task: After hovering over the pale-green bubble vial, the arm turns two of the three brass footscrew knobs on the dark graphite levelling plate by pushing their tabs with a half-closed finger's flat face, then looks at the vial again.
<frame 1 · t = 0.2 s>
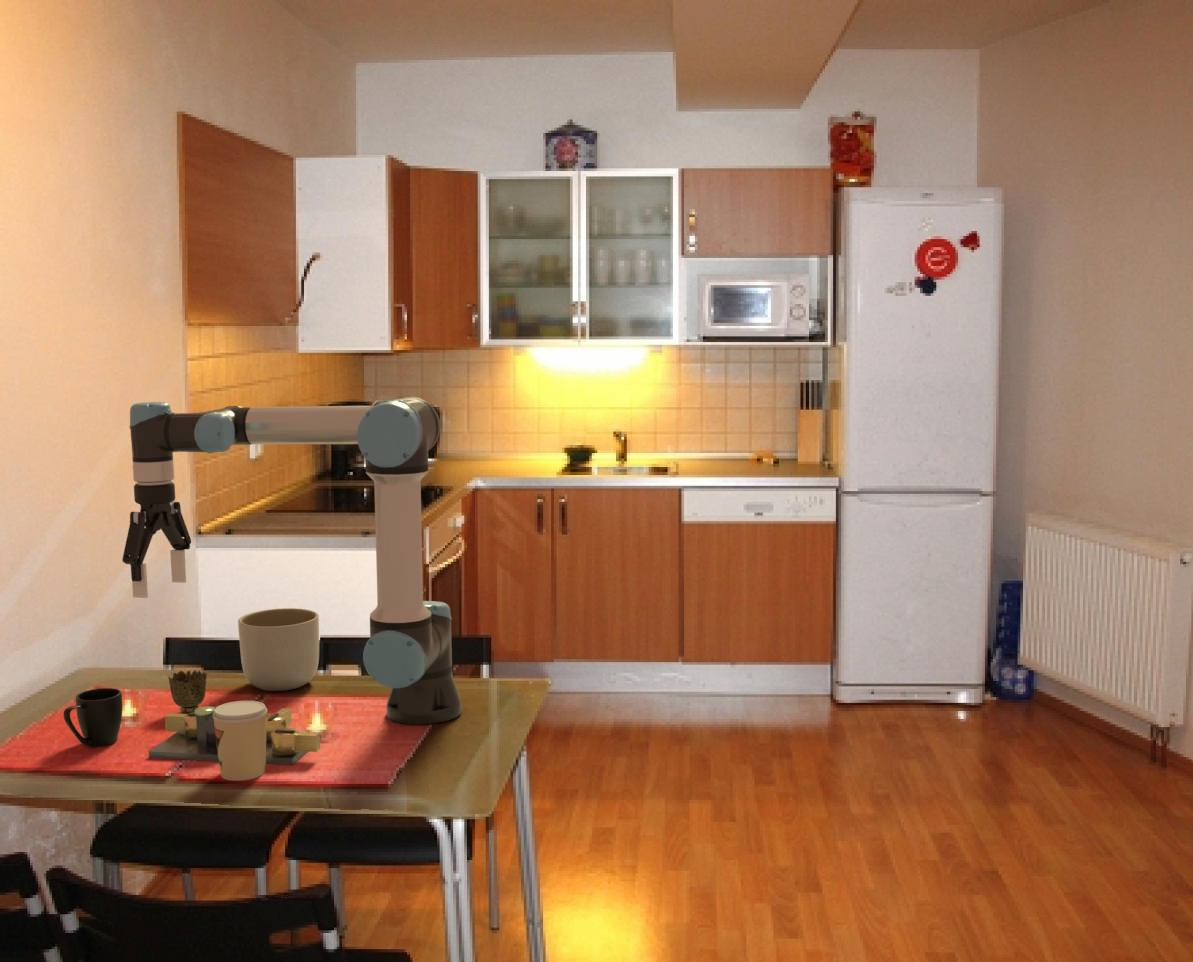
hand: (160, 589, 257), 27 cm above the table, fingers open, 13 cm apart
knob A: (277, 722, 251), point 3 cm above the table, hinge at 0.0°
knob B: (189, 722, 251), point 3 cm above the table, hinge at 0.0°
knob C: (295, 740, 240), point 3 cm above the table, hinge at 0.0°
planter: (281, 685, 287), on the table
cup: (189, 713, 269), on the table
mug: (93, 746, 250), on the table
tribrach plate: (236, 748, 247), on the table
coffee cup: (243, 773, 234), on the table
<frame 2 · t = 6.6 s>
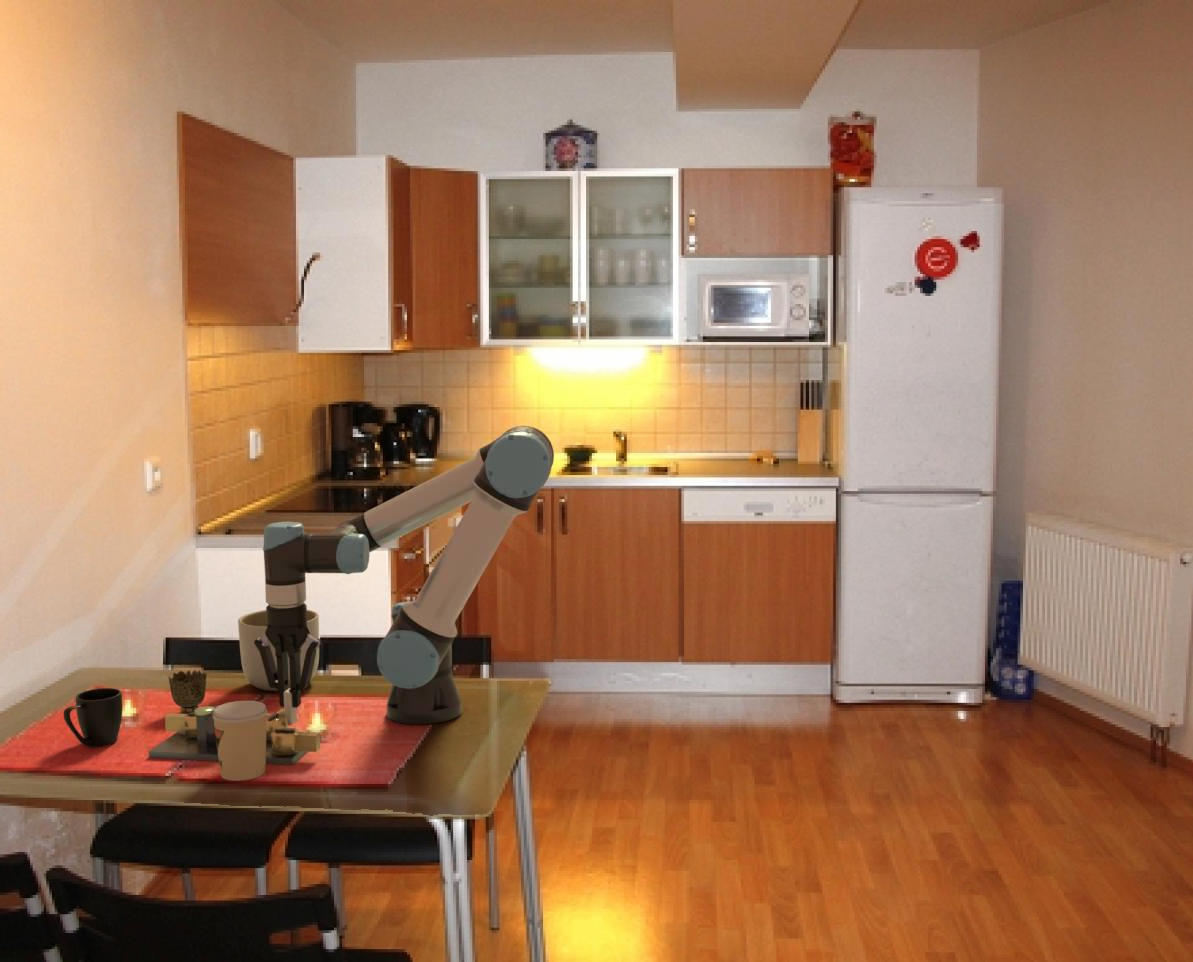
hand: (290, 722, 253), 3 cm above the table, fingers closed
knob A: (277, 722, 251), point 3 cm above the table, hinge at 0.0°, touching gripper
everything else where it was.
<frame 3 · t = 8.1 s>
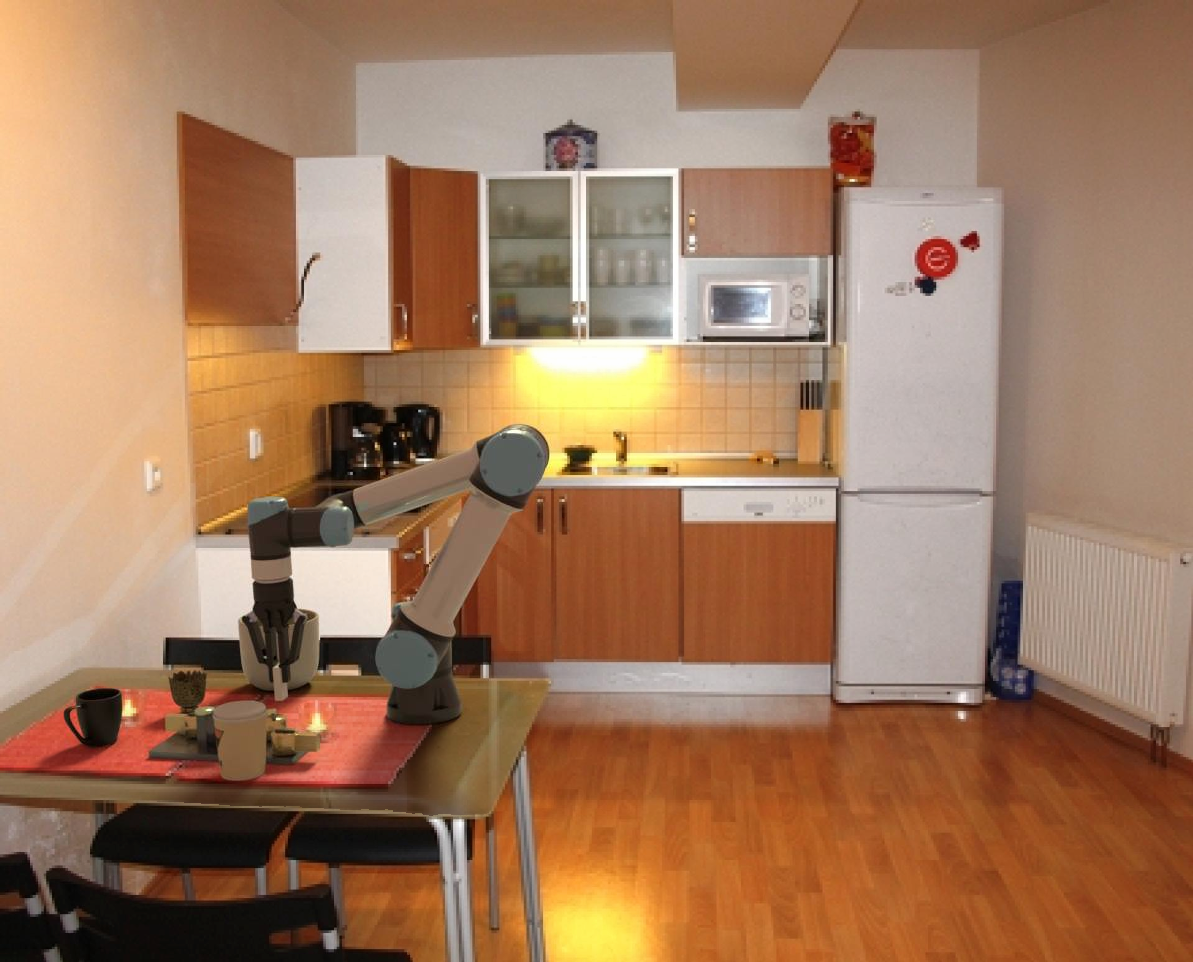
hand: (281, 698, 253), 7 cm above the table, fingers closed
knob A: (272, 722, 251), point 3 cm above the table, hinge at 27.3°
everything else where it was.
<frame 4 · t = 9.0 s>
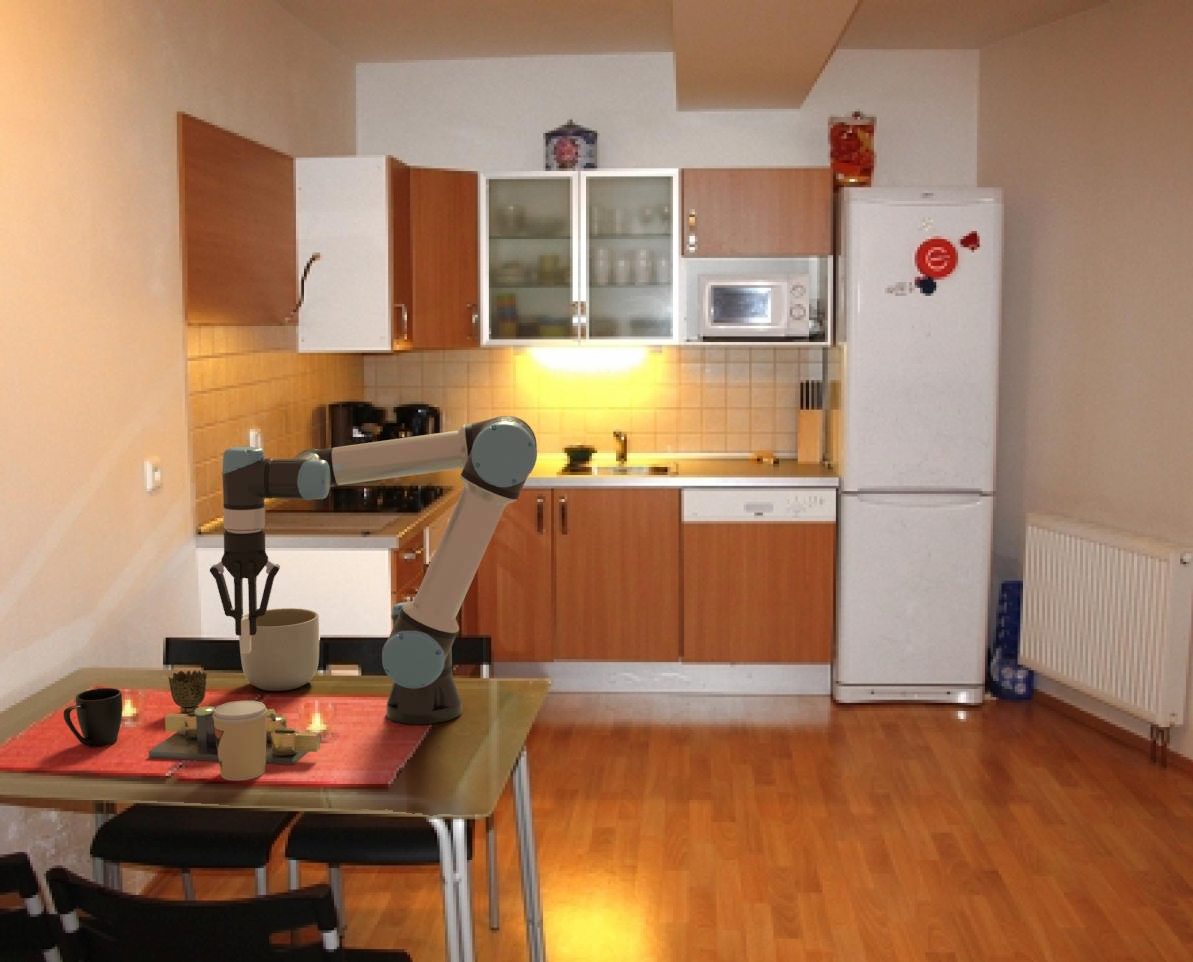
hand: (246, 651, 250), 17 cm above the table, fingers closed
knob A: (272, 722, 250), point 3 cm above the table, hinge at 31.2°
everything else where it was.
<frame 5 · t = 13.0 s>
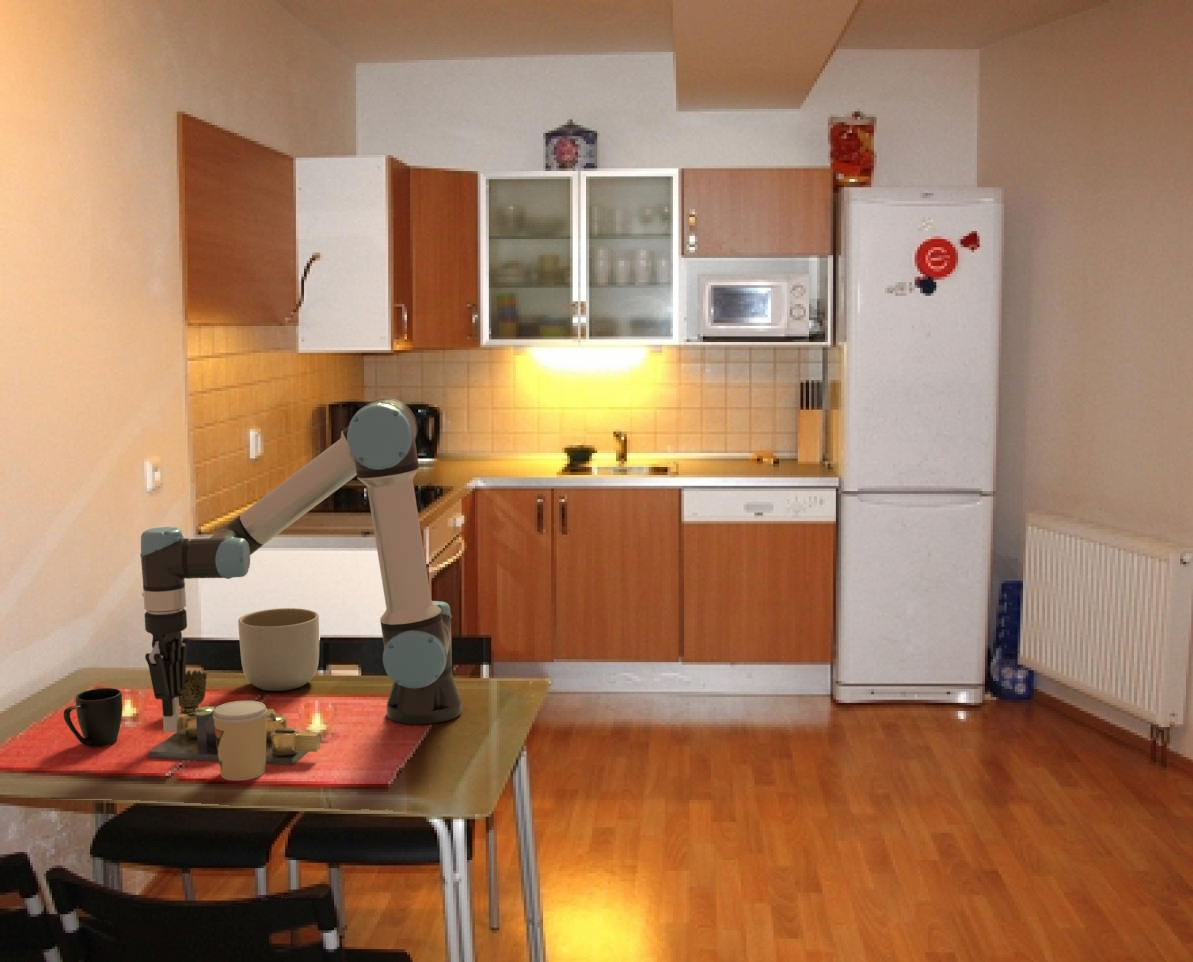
hand: (172, 730, 250), 2 cm above the table, fingers closed
knob A: (272, 722, 250), point 3 cm above the table, hinge at 32.2°
knob B: (189, 722, 251), point 3 cm above the table, hinge at -0.1°, touching gripper
everything else where it was.
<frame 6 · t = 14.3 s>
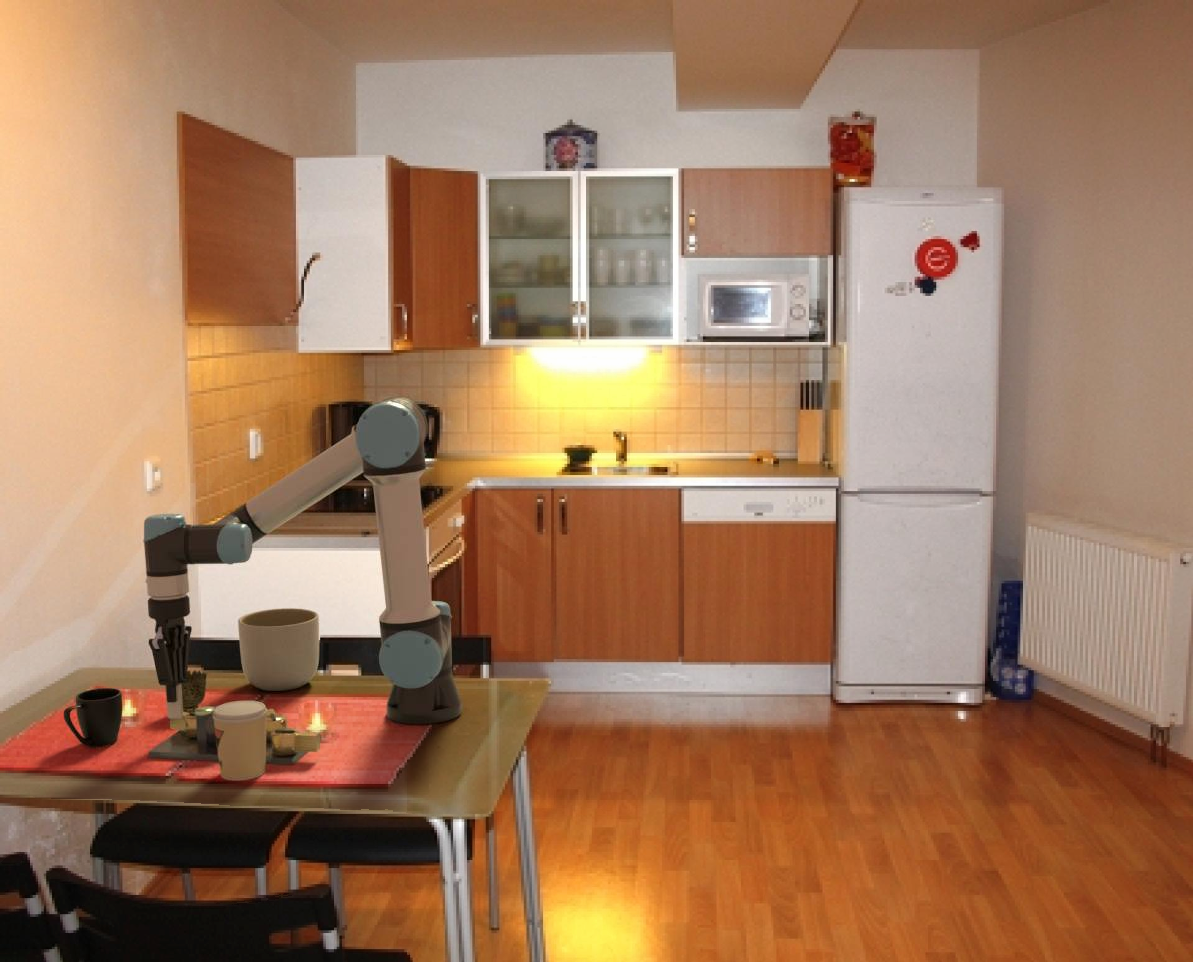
hand: (175, 717, 251), 5 cm above the table, fingers closed
knob B: (190, 722, 252), point 3 cm above the table, hinge at -15.7°, touching gripper
everything else where it was.
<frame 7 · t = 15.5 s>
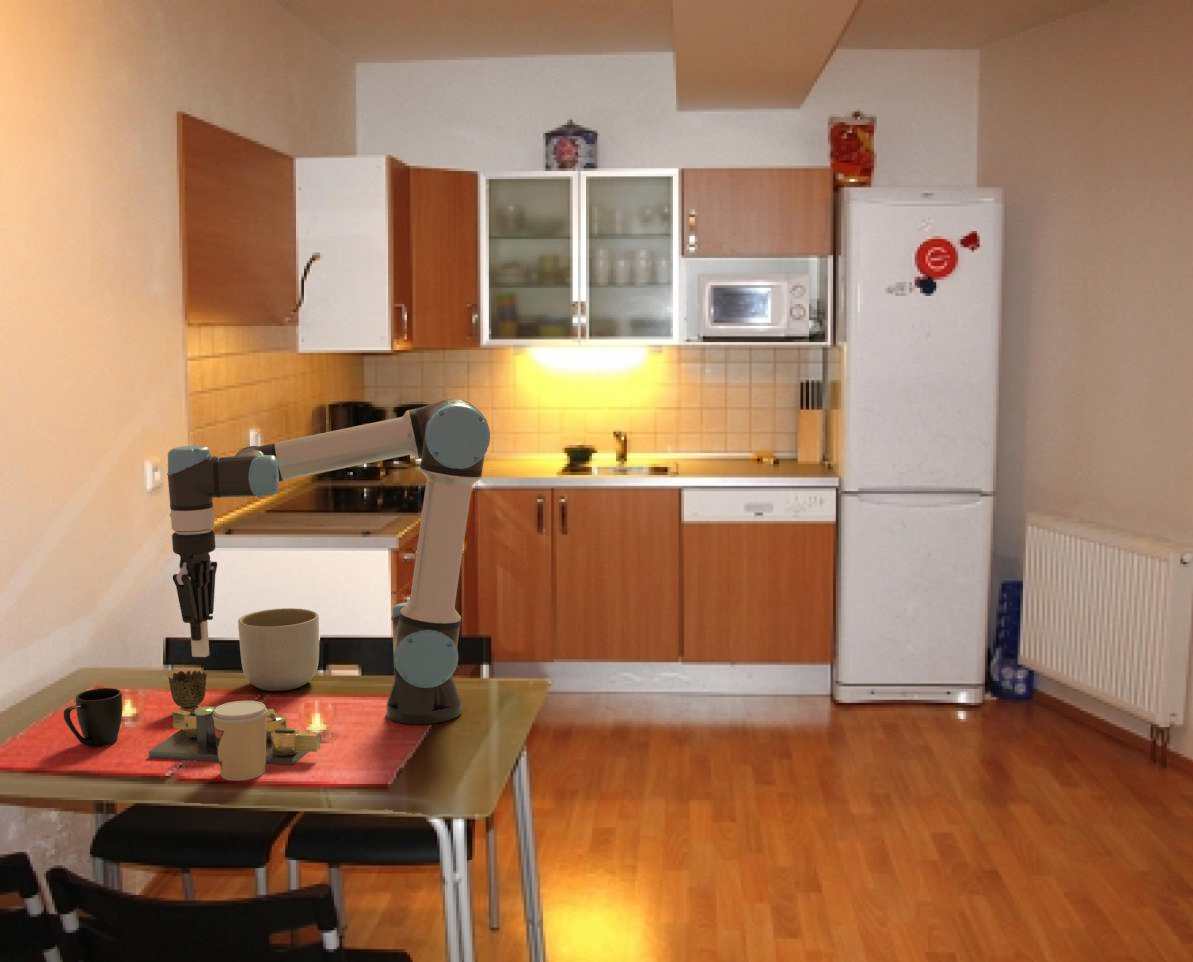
hand: (200, 655, 244), 18 cm above the table, fingers closed
knob B: (191, 721, 252), point 3 cm above the table, hinge at -23.3°
everything else where it was.
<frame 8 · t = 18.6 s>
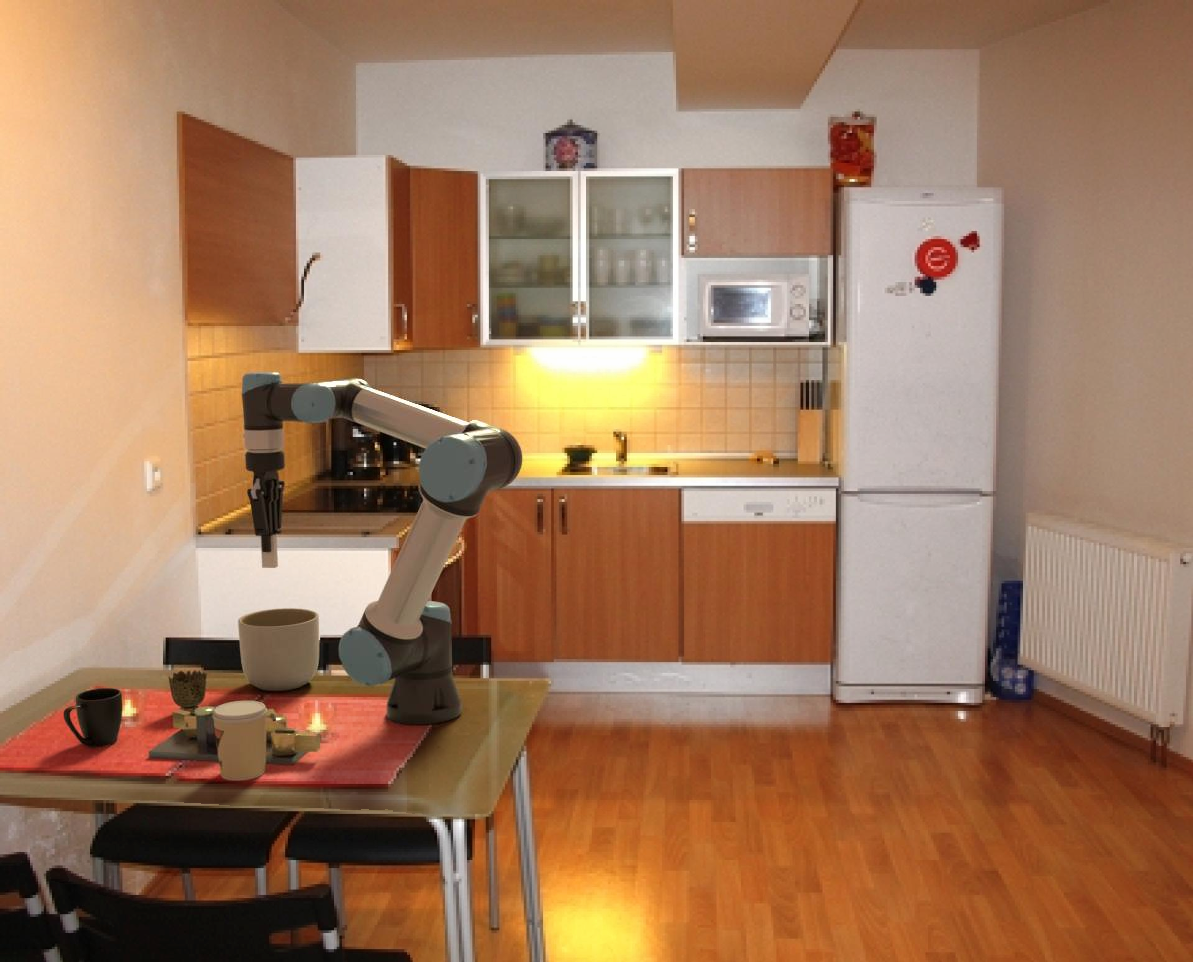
hand: (270, 566, 263), 30 cm above the table, fingers closed
knob B: (191, 721, 252), point 3 cm above the table, hinge at -24.3°
everything else where it was.
at the end: knob A at +32° (first picture: +0°); knob B at -24° (first picture: +0°); knob C at +0° (first picture: +0°) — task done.
